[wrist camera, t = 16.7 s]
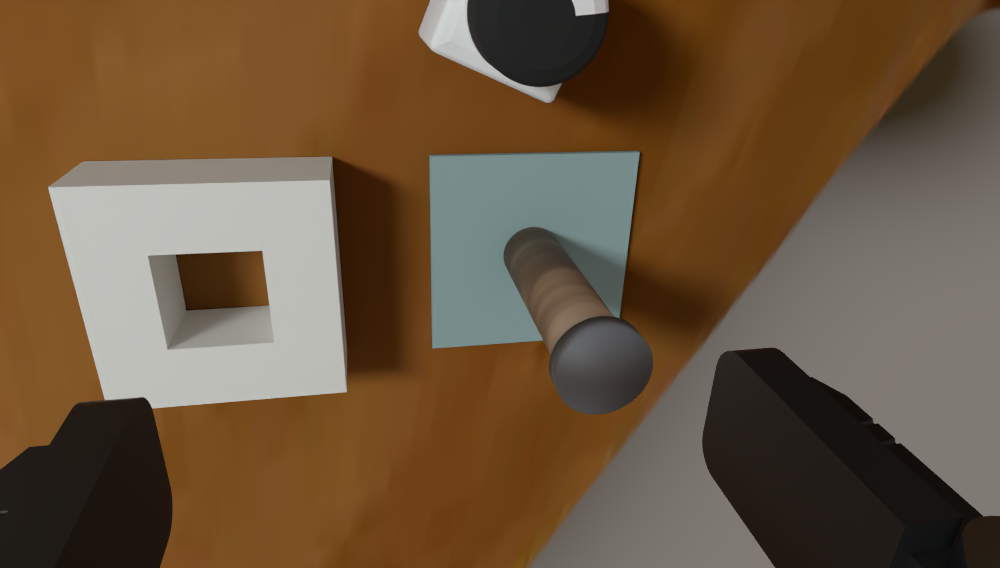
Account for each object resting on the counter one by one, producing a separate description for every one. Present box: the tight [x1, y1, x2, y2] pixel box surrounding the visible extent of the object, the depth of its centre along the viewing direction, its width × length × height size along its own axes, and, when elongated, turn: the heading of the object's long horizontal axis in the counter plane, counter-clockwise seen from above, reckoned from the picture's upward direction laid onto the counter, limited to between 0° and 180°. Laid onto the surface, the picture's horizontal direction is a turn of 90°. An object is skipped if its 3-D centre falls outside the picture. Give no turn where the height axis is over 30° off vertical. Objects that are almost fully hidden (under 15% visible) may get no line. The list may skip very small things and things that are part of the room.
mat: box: [429, 151, 640, 348], centre depth 47 cm, size 14×14×1 cm
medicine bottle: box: [419, 0, 609, 103], centre depth 34 cm, size 7×7×12 cm
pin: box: [503, 227, 653, 414], centre depth 40 cm, size 5×5×15 cm
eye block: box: [48, 157, 347, 408], centre depth 41 cm, size 14×14×5 cm
